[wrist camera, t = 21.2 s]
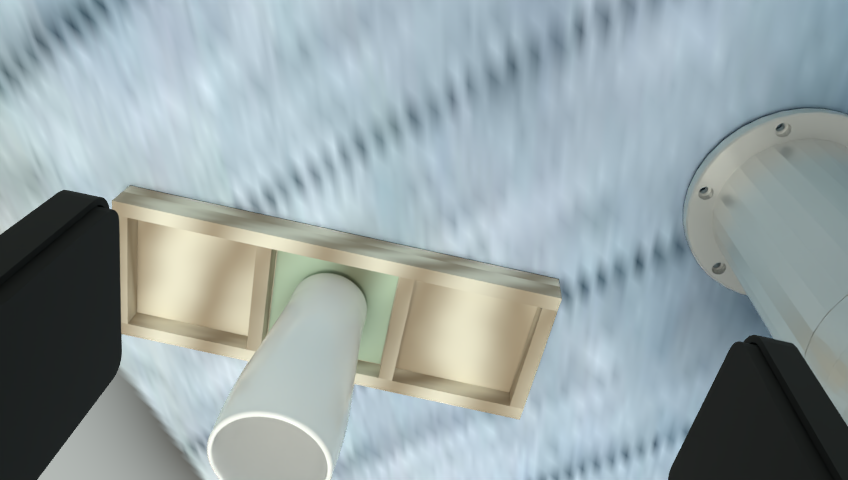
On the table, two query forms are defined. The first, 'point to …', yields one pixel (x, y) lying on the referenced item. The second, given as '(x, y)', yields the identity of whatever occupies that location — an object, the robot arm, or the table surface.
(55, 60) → the table surface
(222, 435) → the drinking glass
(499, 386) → the wooden compartment tray
